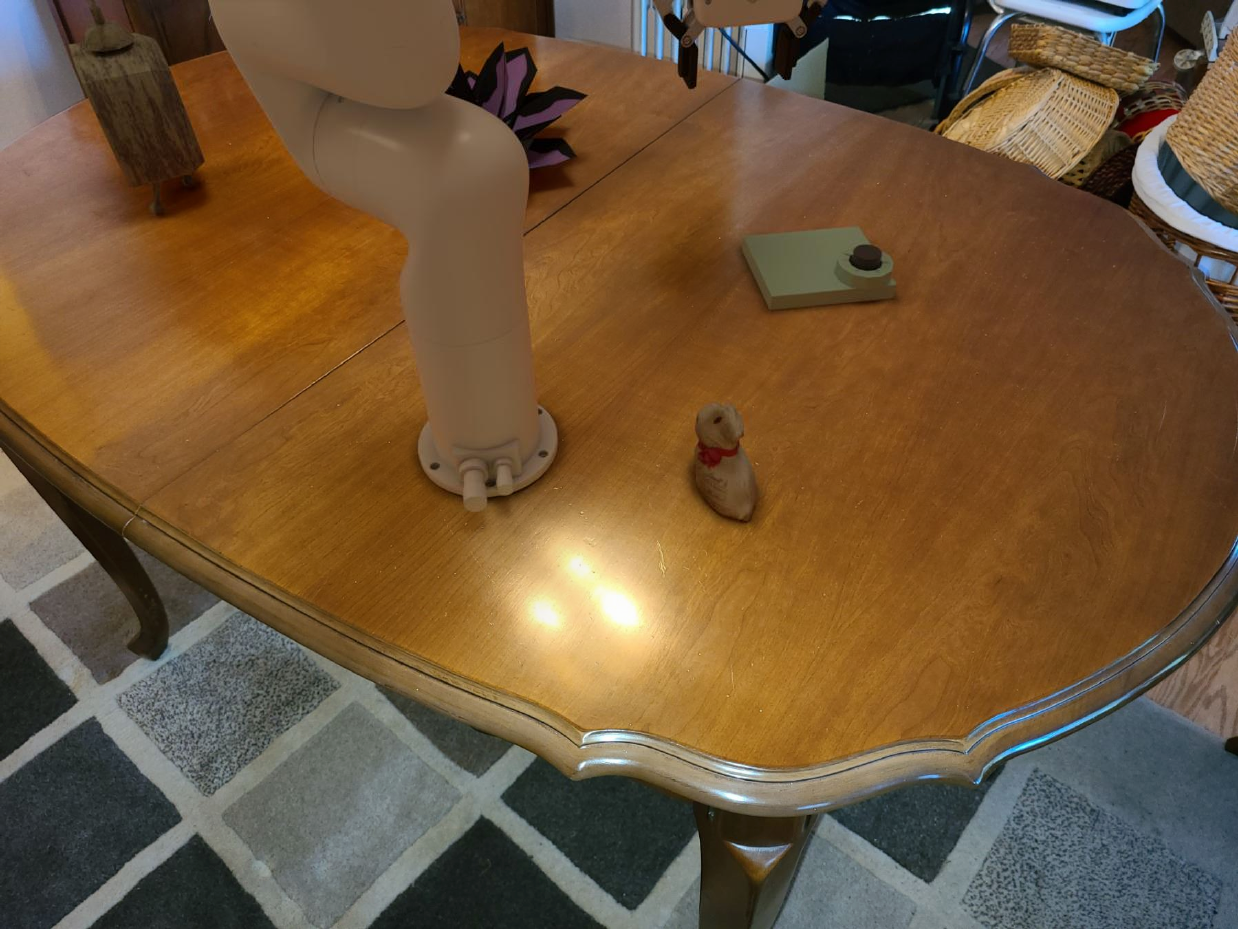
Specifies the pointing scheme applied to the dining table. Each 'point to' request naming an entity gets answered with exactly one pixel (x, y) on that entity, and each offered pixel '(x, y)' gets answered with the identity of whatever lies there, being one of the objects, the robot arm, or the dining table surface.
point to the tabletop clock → (137, 105)
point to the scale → (815, 268)
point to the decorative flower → (518, 102)
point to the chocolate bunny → (724, 462)
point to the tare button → (866, 257)
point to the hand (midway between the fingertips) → (736, 78)
